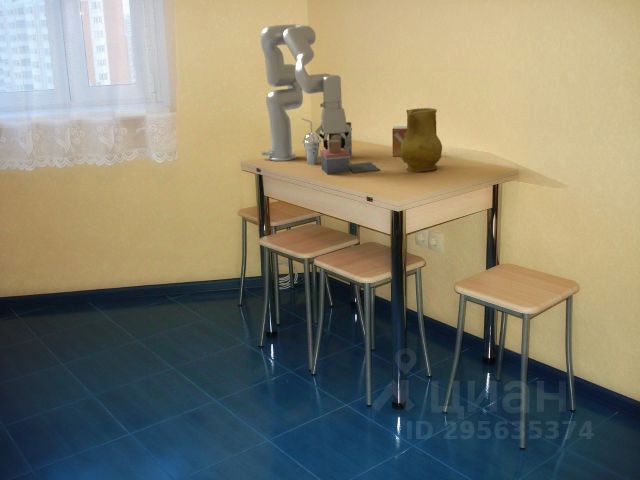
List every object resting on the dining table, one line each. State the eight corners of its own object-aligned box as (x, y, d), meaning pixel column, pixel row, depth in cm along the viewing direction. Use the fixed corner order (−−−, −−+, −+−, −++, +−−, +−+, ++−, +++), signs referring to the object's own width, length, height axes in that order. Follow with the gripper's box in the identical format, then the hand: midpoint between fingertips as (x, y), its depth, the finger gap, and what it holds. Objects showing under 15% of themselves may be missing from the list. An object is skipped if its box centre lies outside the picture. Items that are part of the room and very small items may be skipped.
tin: (327, 174, 306) (326, 158, 304) (321, 169, 317) (320, 153, 315) (350, 172, 308) (349, 156, 306) (343, 166, 319) (342, 151, 317)
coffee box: (328, 158, 339) (327, 123, 334) (335, 155, 344) (334, 121, 339) (345, 159, 334) (344, 124, 329) (352, 156, 339) (351, 122, 334)
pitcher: (393, 168, 312) (392, 109, 304) (430, 162, 318) (430, 105, 311) (413, 175, 297) (413, 114, 289) (452, 169, 303) (453, 109, 296)
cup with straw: (307, 166, 324) (304, 121, 317) (300, 162, 332) (297, 118, 325) (325, 164, 326) (323, 119, 320) (317, 160, 335) (315, 116, 328)
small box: (392, 156, 335) (392, 128, 331) (393, 154, 340) (393, 126, 336) (410, 156, 333) (410, 128, 329) (411, 154, 339) (411, 125, 335)
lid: (326, 158, 304) (325, 144, 302) (320, 153, 315) (319, 139, 313) (349, 156, 306) (349, 142, 304) (342, 151, 317) (342, 138, 315)
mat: (353, 173, 306) (353, 172, 306) (344, 165, 321) (344, 164, 321) (380, 170, 308) (380, 169, 308) (370, 163, 323) (370, 162, 323)
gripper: (314, 108, 299) (316, 151, 304) (355, 105, 302) (356, 148, 307) (310, 106, 306) (312, 148, 311) (350, 103, 309) (352, 145, 315)
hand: (334, 147), depth 309 cm, fingers open, 6 cm apart
